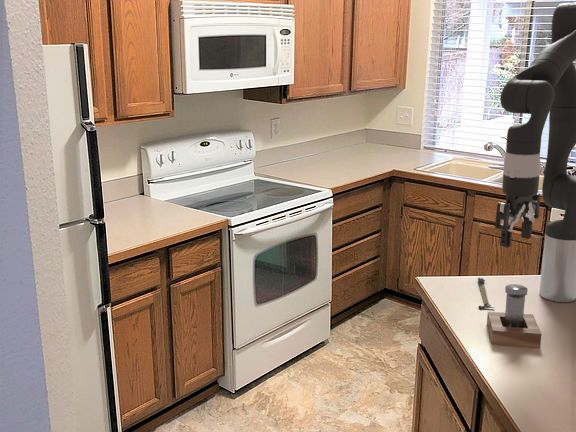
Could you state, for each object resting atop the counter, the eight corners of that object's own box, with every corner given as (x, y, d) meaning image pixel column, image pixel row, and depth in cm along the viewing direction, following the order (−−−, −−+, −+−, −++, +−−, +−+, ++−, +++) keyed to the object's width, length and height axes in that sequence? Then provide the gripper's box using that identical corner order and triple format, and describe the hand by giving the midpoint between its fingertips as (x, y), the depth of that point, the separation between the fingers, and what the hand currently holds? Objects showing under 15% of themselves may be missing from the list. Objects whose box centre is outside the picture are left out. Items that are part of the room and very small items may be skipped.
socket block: (486, 324, 150) (487, 311, 149) (531, 327, 148) (533, 314, 147) (491, 344, 140) (493, 330, 139) (540, 347, 138) (541, 333, 137)
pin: (509, 329, 147) (512, 282, 144) (527, 336, 144) (531, 288, 140) (497, 335, 144) (501, 287, 141) (516, 342, 141) (520, 294, 138)
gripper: (522, 165, 142) (517, 232, 147) (487, 175, 134) (483, 245, 138) (553, 170, 137) (547, 239, 141) (519, 180, 128) (513, 253, 132)
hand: (515, 242), depth 140 cm, fingers open, 8 cm apart
